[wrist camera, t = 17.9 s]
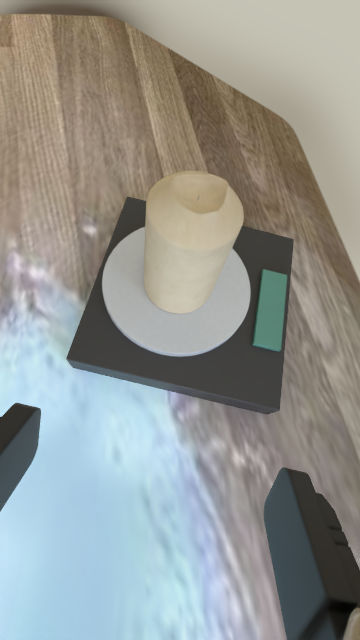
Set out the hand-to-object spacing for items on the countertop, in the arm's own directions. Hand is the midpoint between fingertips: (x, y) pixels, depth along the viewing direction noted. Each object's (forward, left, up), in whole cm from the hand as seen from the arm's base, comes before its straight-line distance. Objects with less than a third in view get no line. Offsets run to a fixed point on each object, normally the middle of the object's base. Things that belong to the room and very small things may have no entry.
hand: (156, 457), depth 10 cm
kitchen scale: (-1, -13, -14) cm, 19 cm away
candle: (+1, -13, -11) cm, 17 cm away
